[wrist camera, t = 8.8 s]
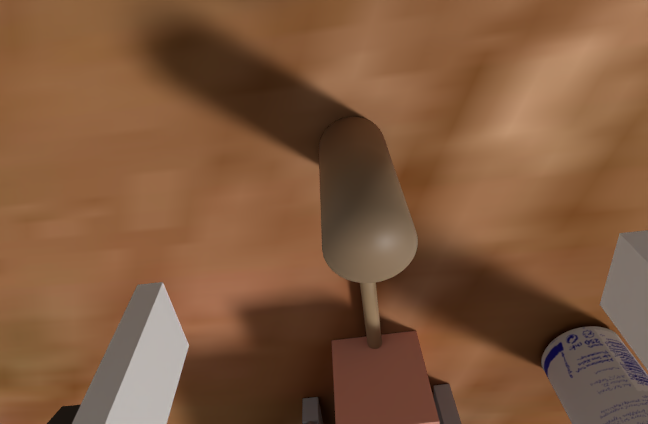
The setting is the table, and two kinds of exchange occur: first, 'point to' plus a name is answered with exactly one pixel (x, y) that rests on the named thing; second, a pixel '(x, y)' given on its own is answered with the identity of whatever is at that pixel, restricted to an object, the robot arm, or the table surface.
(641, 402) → the beverage can
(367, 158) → the block
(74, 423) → the robot arm
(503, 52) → the table surface
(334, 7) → the table surface
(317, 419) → the box
